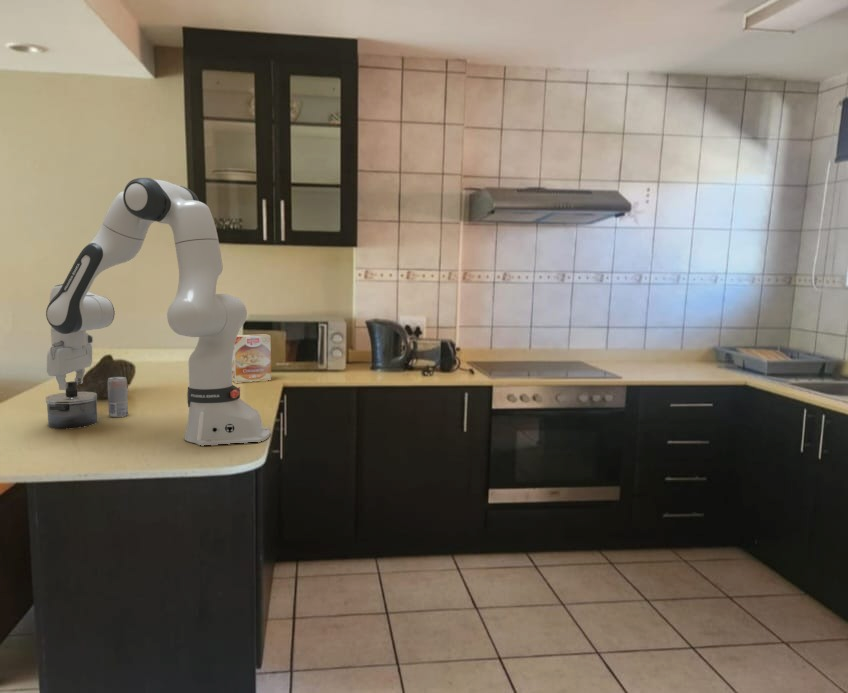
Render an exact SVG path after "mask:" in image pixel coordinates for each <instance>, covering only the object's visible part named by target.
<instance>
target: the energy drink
mask: <svg viewBox="0 0 848 693" xmlns="http://www.w3.org/2000/svg"><path fill="white" fill-rule="evenodd" d="M107 400H108V401H107V402H108V404H107V405H108V416H109V418H112V417H120V418H123V417H122V416H125V417H127V416H128V415H129V406H128V405H129V402H128V400H129V399H128V380H127V377H126V376H112V377H108V378H107ZM126 415H127V416H126Z"/></svg>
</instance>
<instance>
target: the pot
mask: <svg viewBox="0 0 848 693" xmlns="http://www.w3.org/2000/svg"><path fill="white" fill-rule="evenodd" d="M97 399H98V396H97V397H96V398H95V399H92V400H88V401H82V402H73V403H51V402H47V401H46V400H45V403H46V405H47V406H46V409H47V427H48V426H49V427H48V428H50V429H53V428H55V429H54V430H70V429H69V428H73V429H80V428H79V427H81V428H85V427H84V426H86V427H90V426H89V425H91V426H93V425H92V424H94V425H96V424H98V407H97V406H98V405H97V404H98V403H97V402H98V401H97ZM95 423H96V424H95ZM66 428H68V429H66Z"/></svg>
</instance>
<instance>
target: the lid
mask: <svg viewBox="0 0 848 693" xmlns="http://www.w3.org/2000/svg"><path fill="white" fill-rule="evenodd" d="M66 383H68V389H66V390H65V392H61V393H56V394H55V393H54V394H50V395H48V396H46V397H45V402H46V401H47V402H51V403H73V402H82V401H88V400H92V399H95V398H96V397H97V398H98V393H96V392H95V391H94V392H93V391H78V384H77V382H75V380H74V381H66Z"/></svg>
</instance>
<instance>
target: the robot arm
mask: <svg viewBox="0 0 848 693" xmlns="http://www.w3.org/2000/svg"><path fill="white" fill-rule="evenodd" d="M156 222H157V223H160V224H167V225H169V226H170V227H171V231H172V234H173V240H174V248H175V254H176V259H177V267H178V285H177V292H176V295H175V297H174V299H173V301H172V302H171V304H170V305H169V306H168V309H167V313H166V319H167V323H168V326H169V327H170V329H171V330H172V331H173V332H174V333H176V334H177V335H179V336H185V337H189V338H198V342H197V344H196V346H195V348H194V350H193V352H191V354H190V356H189V357H188V383H189V384H188V385H189V386H188V387H187V394H186V396H187V397H186V398H187V399H186V401H187V406H188V417H187V425H186V430H185V434H184V438H183V439H184V440H185V441H187V442H188V443H192V444H193V443H194V444H196V445H198V446H200V445H201V447H205V446H204V445H211V446H219V445H218V444H228V445H231V444H230V443H244V444H248V443H247V442H258V443H261V441H262V442H264V441H266V440H267V439H268V438H270V435H271V430H270V428H269V427H266V426H263V422H262V418H261V414H260V412H259V411H258V410H257V409H256V408H254V407H252V406H251V405H249V404H248V403H246V401H244V400H243V399H241V387H240V386H238V387H237V386H236V385H233V381H232V356H233V350H234V346H235V342H236V338H237V335H239V332H240V330H241V328H242V327H243V326H244V324H245V322H246V320H247V316H248V315H247V314H248V312H247V311H248V310H247V307H246V305H245V304H244V301H242V300H241V299H240V298H239V297H236V296H233V295H230V294H226V293H217V283H218V279H219V276H221V274H222V273H223V268H224V264H223V259H222V253H221V246H220V242H219V236H218V232H217V227H216V222H215V220H214V217H213V215H212V212H211V210H210V207H209V206H208V205H207V204H206V203H204V202H202V201H200V200H199V198H198V196H197V195H196V193H195V192H194V191H192V190H191V189H189V188H187V187H186V186H182V185H178V184H175V183H171V182H170V181H167V180H162V179H156V178H155V179H154V178H151V177H138V178H134V179H132V180H130V181H129V182H128V183H127V184H126V186H125V188H124V190H123V191H120V192H119V193H118V194H116V195H115V198H114V199H113V201H112V202H111V203H110V206H109V207H108V210H107V211H106V214H105V216H104V218H103V221H102V223H101V226H100V227H99V230H98V231H97V233H96V235H95V236H94V238H93V239H91V241H90V242H89V243H88V244H87V245H86V246H84V248H83V249H82V250H81V251H80V252H79V254H78V256H77V258H76V259H75V261H74V263H73V264H72V266H71V268H70V270H69V272H68V273H67V276H66V278H65V279H64V282H63V283H62V284H57V285H55V286H53V287H52V288H51V290H50V295H49V303H48V305H47V307H46V309H45V310H46V311H45V317H46V320H47V322H48V324H49V326H50V338H51V339H50V340H51V347H50V349H48V351H47V353H46V354H47V356H46V374H47V375H48V376H49V377H55V380H56V382H57V384H58V390H60V391H66V389H68V383H66V382H67V380H66V379H67V374H70V373H73V372H75V378H74V382H77V385H82V384H83V383H84V376H85V371H86V370H85V369H86V368H89V367H91V365H92V363H93V346H92V343H93V342H94V337H93V336H92V335H91V334H89V333H88V332H87V331H92V330H100V329H105V328H107V327H109V326H110V325H112V323H113V321H114V319H115V315H116V314H115V312H116V311H115V307H114V305H113V303H112V301H111V300H110V299H109V298H108V297H106V296H100V295H98V294H96V293H92V292H90V291H89V290H90V289H91V287H92V285H93V283H94V281H95V280H96V278H97V277H98V276H99V275H100V274H101V273H102V272H104V271H105V270H108V269H110V268H112V267H114V266H117V265H121V264H124V263H127V262H129V261H131V260H133V259H134V258H136V256H138V253H139V252H140V250H141V249H142V246H143V245H144V241H145V238H146V236H147V233H148V231H149V228H150V226H151V225H152V224H153V223H156Z"/></svg>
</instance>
